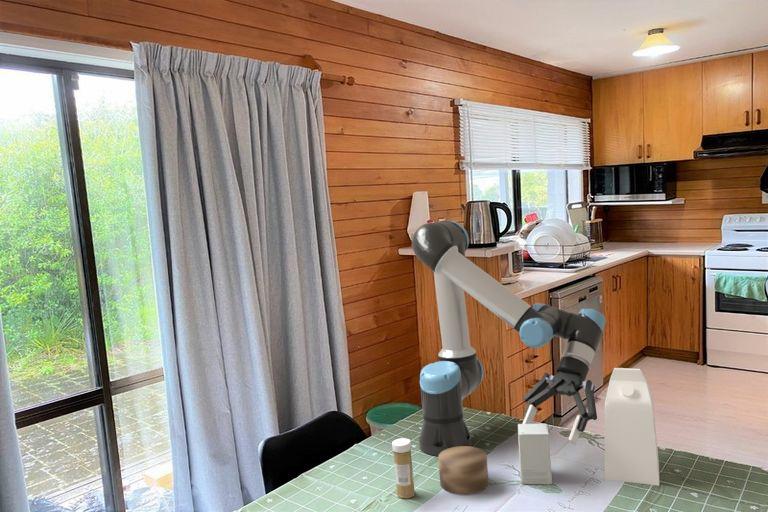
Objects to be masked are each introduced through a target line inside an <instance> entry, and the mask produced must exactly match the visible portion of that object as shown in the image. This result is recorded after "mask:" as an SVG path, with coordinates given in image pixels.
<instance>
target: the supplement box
mask: <svg viewBox="0 0 768 512" xmlns="http://www.w3.org/2000/svg"><path fill="white" fill-rule="evenodd" d="M517 437H518V439H517V440H518V456H519V469H520V471H519V472H520V479H521V480H520V481H521V484H522V485H552V484H553V479H552V465H551V463H552V461H551V460H552V459H551V446H550V433H549V428H548V425H547V423H532V424H522V423H518V424H517Z"/></svg>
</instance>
